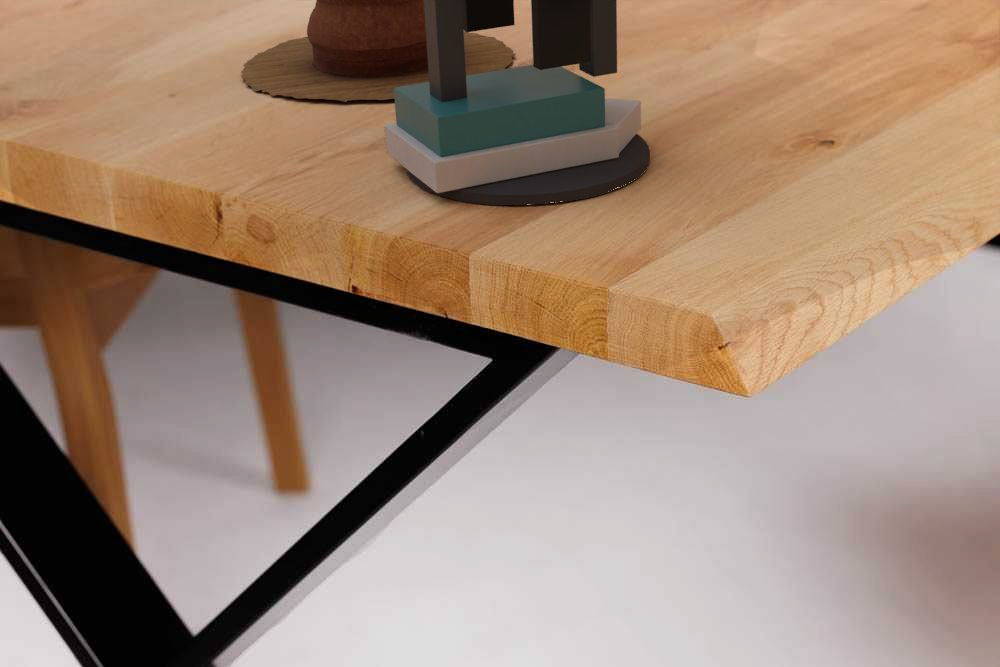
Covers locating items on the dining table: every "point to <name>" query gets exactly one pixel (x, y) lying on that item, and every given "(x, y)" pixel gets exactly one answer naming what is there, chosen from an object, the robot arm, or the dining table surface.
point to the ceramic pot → (361, 53)
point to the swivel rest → (558, 181)
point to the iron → (506, 110)
